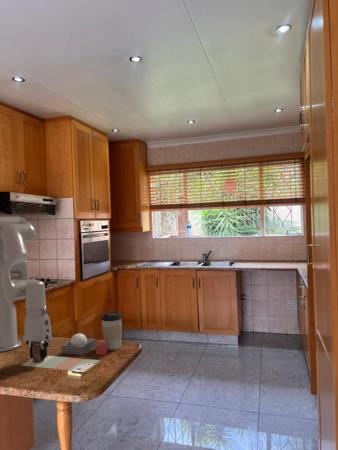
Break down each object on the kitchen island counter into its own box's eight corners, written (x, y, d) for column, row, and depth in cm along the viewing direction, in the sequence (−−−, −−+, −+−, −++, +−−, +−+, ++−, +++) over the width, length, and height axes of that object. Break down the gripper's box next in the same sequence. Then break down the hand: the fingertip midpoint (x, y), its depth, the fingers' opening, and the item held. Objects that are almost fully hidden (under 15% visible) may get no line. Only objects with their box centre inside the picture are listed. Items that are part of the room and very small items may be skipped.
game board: (19, 366, 138) (19, 365, 138) (39, 356, 148) (39, 354, 148) (85, 373, 127) (85, 372, 127) (101, 362, 138) (101, 360, 138)
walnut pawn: (30, 362, 140) (29, 339, 140) (38, 358, 144) (37, 335, 144) (39, 363, 138) (38, 339, 138) (47, 359, 143) (45, 336, 143)
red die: (96, 355, 145) (95, 345, 145) (97, 351, 149) (97, 342, 149) (105, 354, 145) (105, 344, 145) (107, 351, 149) (106, 341, 149)
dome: (67, 352, 149) (66, 335, 149) (77, 346, 156) (76, 330, 156) (81, 353, 147) (80, 336, 147) (90, 347, 153) (89, 331, 153)
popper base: (62, 354, 148) (61, 345, 148) (76, 346, 158) (75, 337, 158) (82, 356, 145) (82, 346, 145) (95, 348, 154) (95, 339, 154)
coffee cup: (114, 342, 161) (112, 309, 161) (127, 345, 155) (126, 311, 155) (98, 348, 154) (96, 313, 154) (112, 352, 148) (110, 316, 148)
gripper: (59, 310, 142) (62, 355, 142) (26, 309, 148) (28, 352, 148) (47, 315, 135) (49, 363, 135) (12, 314, 141) (15, 359, 141)
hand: (38, 357), depth 141 cm, fingers closed on walnut pawn, 4 cm apart
